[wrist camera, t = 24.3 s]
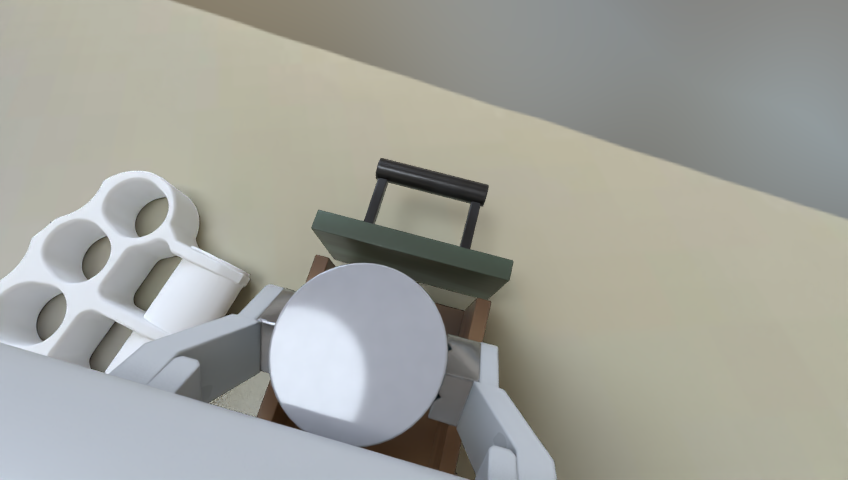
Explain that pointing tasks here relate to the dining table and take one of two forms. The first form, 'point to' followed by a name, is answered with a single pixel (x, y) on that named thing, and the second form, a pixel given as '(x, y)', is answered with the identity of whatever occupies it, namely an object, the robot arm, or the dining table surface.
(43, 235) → the white brass knuckles
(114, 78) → the dining table surface
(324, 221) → the drawer
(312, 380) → the salt shaker
